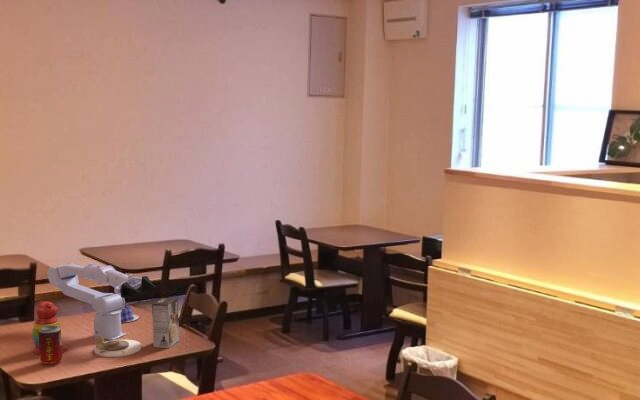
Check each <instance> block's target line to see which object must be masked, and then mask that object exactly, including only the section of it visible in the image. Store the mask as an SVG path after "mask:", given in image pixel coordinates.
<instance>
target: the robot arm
mask: <svg viewBox="0 0 640 400" xmlns="http://www.w3.org/2000/svg"><path fill="white" fill-rule="evenodd" d="M46 275H47V279H48V282H49V283H50V285H51V286H54V287H56V288H57V289H59V291H61V292H62V293H63V294H64V295H65V296H67V297H70V298H72V299H75V300H79V301H81V302H84V303H87V304H90V305H91V306H92V309H93V310H95V311H96V312H97V313H95V314H94V318H93V330H94V331H93V333H94V335H93V336H92V337H93V338H94V339H96V337H99V336H102V337H104V340H108V341H112V340H118V339H120V338H121V337H124V336H125V335H127V333H126V332H122V322H121V312H122V309H123V308H124V306H126V301H125V298H135V299H140V298H141V291H142V292H151V293H156V292H157V289H158V288H157V286H156V285H155V284H154V283H152V281H151V280H150V278H149V276H147V275H143V276H142V277H136V276H134V274H132V273H131V274H125V273H123V272H121V271H118V270H116V268H115V267H114V266H112V265H111V264H110V265H109V264H108V265H106V266H103V265H102V264H97V265H96V264H95V265H94V263H92V262H91V263H88V264H86V265H85V266H84V265H78V264H76V263H72V262H71V263H67V264H61V265H59V266H58V265H57V266H51V267H48V270H47V274H46ZM79 276H82V277H83V278H84V280H86V281H87V280H89V281H94V282H97V284H98V285H102V284H106V285H108V286H112V287H113V288H114V291H113V292H110V293H109V292H101V291H99V290H95V289H93V288H90V287H87V286H84V285H82V284H80V282H79ZM141 287H142V290H141V291H139V290H138V289H139V288H141Z"/></svg>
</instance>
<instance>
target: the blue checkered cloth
mask: <svg viewBox="0 0 640 400" xmlns="http://www.w3.org/2000/svg"><path fill="white" fill-rule="evenodd" d="M132 310H133V309H132V308H131V306H129V305H125V306H124V308H123V309H122V312H121V323H130V322H133V321H136V320H138V319H139V318H140V317H139V315H138V314H133V311H132Z"/></svg>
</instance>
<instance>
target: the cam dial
mask: <svg viewBox="0 0 640 400" xmlns="http://www.w3.org/2000/svg"><path fill="white" fill-rule="evenodd" d="M123 340H124V339H115V341H112V340H108V341H109V342H107V341H105V339H104V337H102V336H99V337H96V338H95V346H96V348H97V349H99V350H103V349H104V350H110V351H114V350H122V349H125V348H127V347H128V346H129V343H128V342H127V341H123ZM104 342H106V343H104Z"/></svg>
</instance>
